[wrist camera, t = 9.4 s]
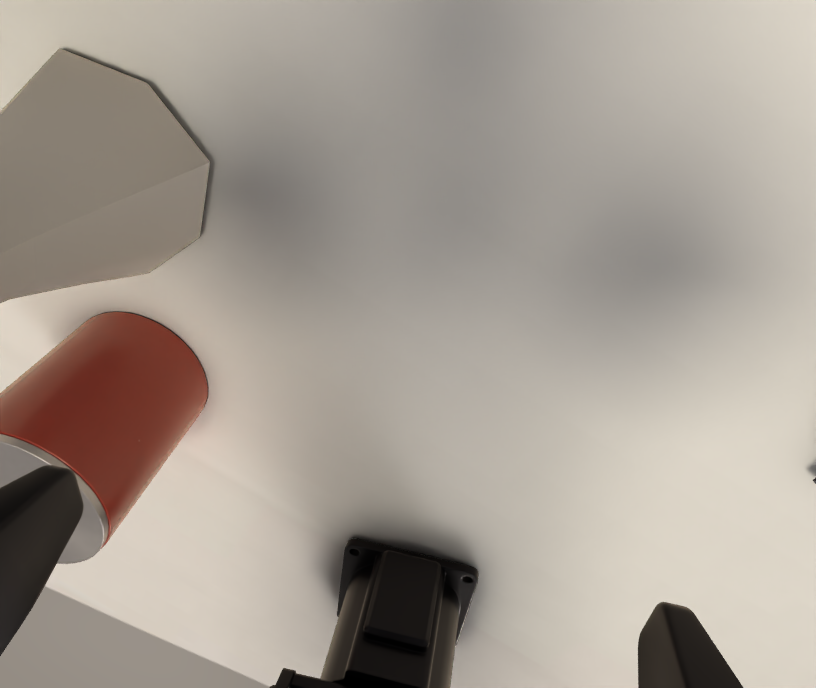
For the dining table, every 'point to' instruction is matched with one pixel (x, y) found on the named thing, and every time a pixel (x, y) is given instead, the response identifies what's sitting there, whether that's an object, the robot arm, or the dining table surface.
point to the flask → (92, 179)
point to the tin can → (102, 417)
